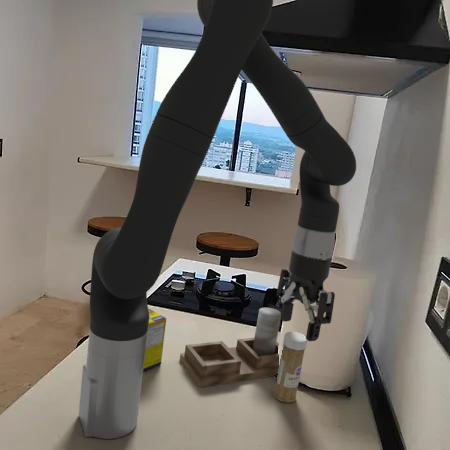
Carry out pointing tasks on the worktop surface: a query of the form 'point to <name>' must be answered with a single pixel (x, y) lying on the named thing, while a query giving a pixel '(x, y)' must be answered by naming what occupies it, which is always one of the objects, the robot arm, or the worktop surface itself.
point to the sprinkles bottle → (290, 366)
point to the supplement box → (154, 340)
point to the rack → (237, 355)
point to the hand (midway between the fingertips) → (297, 330)
